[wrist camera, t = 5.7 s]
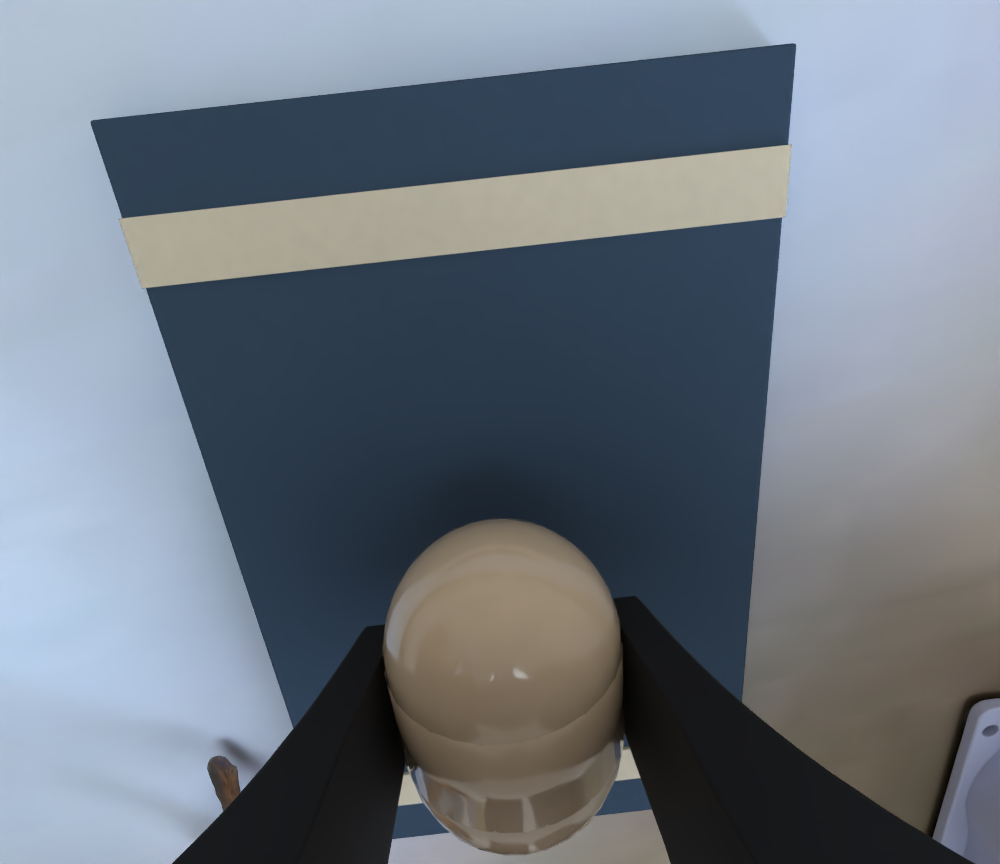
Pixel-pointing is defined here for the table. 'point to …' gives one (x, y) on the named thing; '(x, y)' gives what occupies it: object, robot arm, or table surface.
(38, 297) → the table surface
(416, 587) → the egg
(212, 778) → the lion figurine
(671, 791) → the robot arm
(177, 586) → the table surface
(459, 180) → the towel
